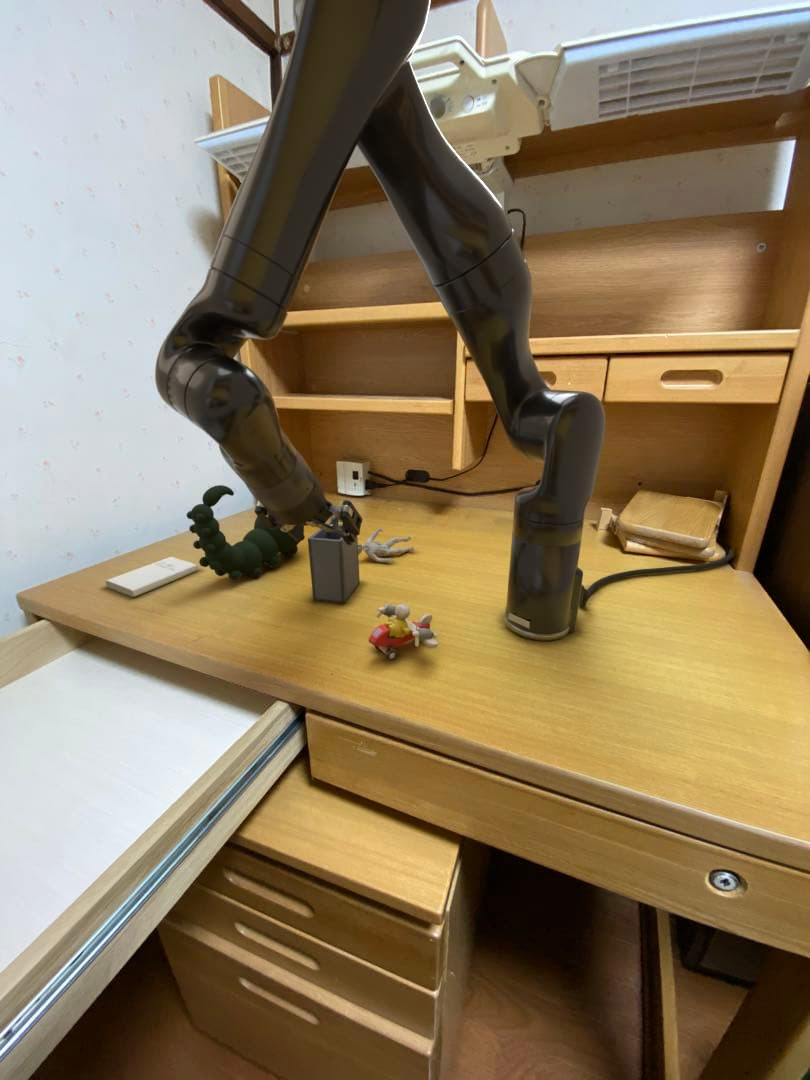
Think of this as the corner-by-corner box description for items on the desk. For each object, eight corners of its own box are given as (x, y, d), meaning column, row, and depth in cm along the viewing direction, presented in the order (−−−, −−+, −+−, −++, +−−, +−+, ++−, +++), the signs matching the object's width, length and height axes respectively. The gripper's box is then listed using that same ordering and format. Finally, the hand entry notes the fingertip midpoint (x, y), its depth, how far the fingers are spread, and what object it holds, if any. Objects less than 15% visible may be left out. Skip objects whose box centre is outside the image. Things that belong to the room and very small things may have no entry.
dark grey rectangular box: (325, 523, 79) (307, 538, 72) (356, 525, 78) (341, 541, 71) (330, 580, 83) (313, 600, 76) (359, 583, 82) (345, 604, 75)
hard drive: (107, 588, 81) (171, 563, 91) (134, 598, 77) (198, 571, 87) (104, 579, 81) (169, 555, 91) (132, 590, 77) (196, 563, 87)
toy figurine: (231, 605, 78) (327, 546, 97) (204, 500, 70) (315, 458, 89) (197, 591, 83) (295, 538, 102) (168, 492, 75) (280, 454, 94)
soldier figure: (418, 561, 93) (371, 558, 85) (404, 571, 96) (357, 569, 89) (409, 528, 96) (362, 522, 89) (395, 538, 99) (349, 533, 92)
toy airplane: (367, 661, 60) (365, 619, 58) (381, 625, 69) (380, 586, 66) (436, 667, 59) (437, 624, 57) (442, 630, 67) (443, 590, 65)
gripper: (223, 506, 57) (277, 556, 72) (331, 513, 54) (364, 563, 69) (240, 456, 60) (289, 513, 75) (343, 459, 57) (373, 518, 72)
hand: (325, 537), depth 72 cm, fingers open, 8 cm apart
